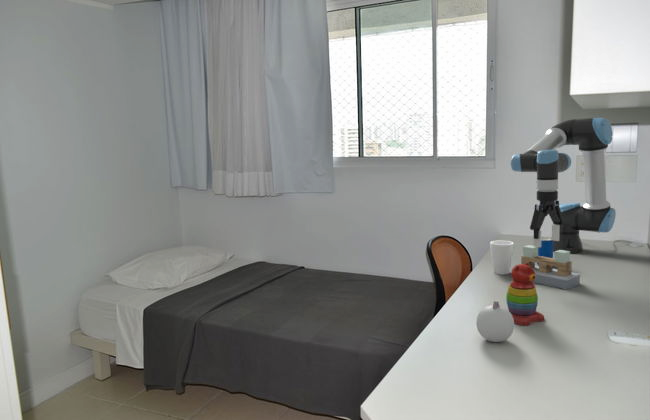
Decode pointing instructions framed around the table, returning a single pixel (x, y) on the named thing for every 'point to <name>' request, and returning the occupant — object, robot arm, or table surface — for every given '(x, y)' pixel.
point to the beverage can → (546, 248)
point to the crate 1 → (530, 251)
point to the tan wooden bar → (548, 265)
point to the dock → (556, 279)
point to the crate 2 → (562, 256)
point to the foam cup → (501, 256)
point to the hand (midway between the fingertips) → (546, 243)
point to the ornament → (495, 323)
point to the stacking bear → (523, 296)
